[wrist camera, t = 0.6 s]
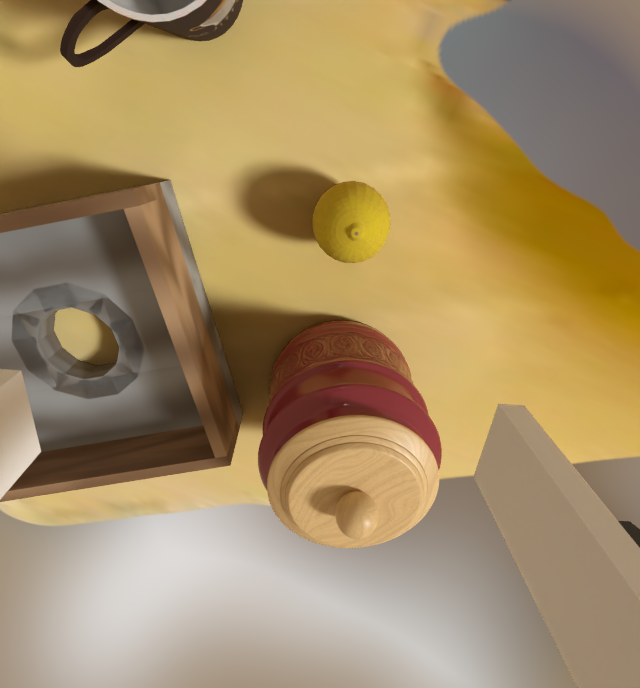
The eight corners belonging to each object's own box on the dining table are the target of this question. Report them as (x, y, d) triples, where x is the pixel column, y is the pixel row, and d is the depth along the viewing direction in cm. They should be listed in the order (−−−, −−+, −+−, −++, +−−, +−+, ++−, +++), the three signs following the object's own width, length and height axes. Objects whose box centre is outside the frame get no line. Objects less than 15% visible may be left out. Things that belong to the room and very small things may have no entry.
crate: (-96, 232, 33) (-199, 254, 27) (170, 179, 32) (133, 188, 25) (33, 447, 43) (-19, 504, 36) (243, 413, 42) (230, 465, 35)
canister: (304, 450, 44) (302, 624, 28) (247, 348, 38) (204, 491, 23) (423, 407, 42) (494, 569, 26) (380, 294, 37) (435, 409, 21)
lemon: (300, 228, 34) (297, 251, 27) (333, 163, 32) (340, 168, 25) (358, 260, 35) (371, 290, 28) (394, 199, 33) (417, 215, 26)
